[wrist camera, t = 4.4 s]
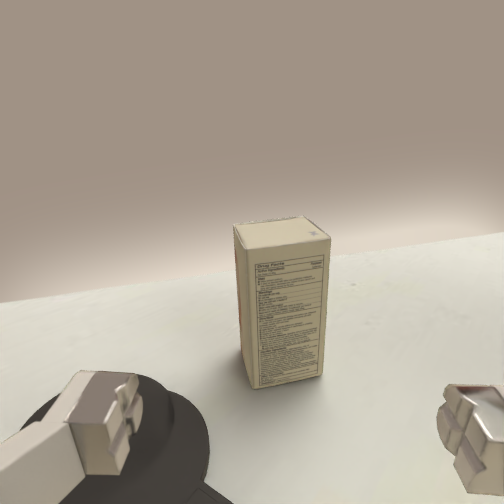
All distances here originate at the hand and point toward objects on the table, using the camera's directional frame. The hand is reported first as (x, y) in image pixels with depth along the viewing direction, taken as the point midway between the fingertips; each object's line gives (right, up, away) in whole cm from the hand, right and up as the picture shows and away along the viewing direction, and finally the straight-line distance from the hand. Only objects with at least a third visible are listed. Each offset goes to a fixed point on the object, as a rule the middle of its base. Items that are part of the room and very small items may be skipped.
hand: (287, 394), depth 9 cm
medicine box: (+1, -4, +15) cm, 16 cm away
